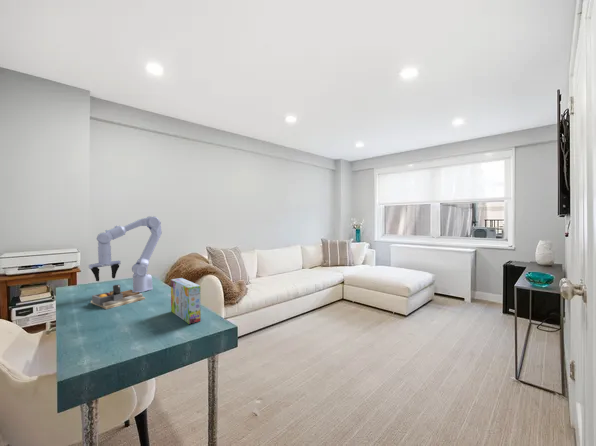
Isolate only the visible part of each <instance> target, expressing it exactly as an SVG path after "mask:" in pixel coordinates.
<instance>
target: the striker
mask: <svg viewBox="0 0 596 446" xmlns="http://www.w3.org/2000/svg"><path fill="white" fill-rule="evenodd" d="M120 292H121V284H114V285H112V290H110V291H109V292H107V296H111V300H114V301H115V300H119V299H123V293H120Z"/></svg>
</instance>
